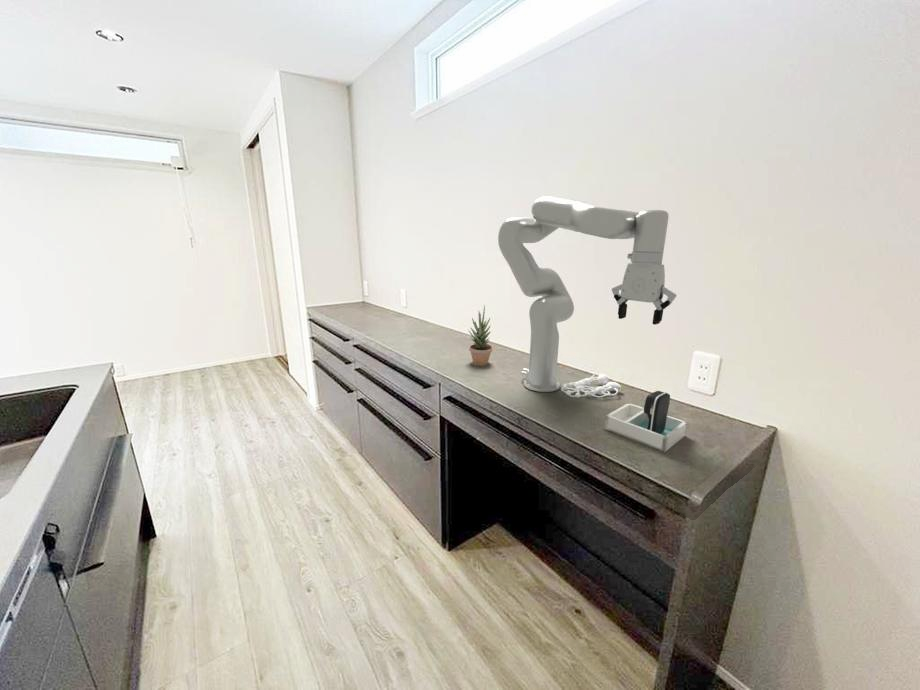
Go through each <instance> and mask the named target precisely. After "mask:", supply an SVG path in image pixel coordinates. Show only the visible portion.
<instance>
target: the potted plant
mask: <svg viewBox="0 0 920 690" xmlns="http://www.w3.org/2000/svg"><path fill="white" fill-rule="evenodd" d="M485 313H486V307H485V304H484V305H483V311H482V314H481V312H480V311H478V325H477V322H476V321H475V320H474V318H473V317H472V318H471V319H472V320H471V321H472V323H473V327H474V329H475V330H474V329H473V328H472V327H470V330H468V332H469V334H470V336H471V337H472V338H471V337H470V339H471V341H472V342H473V344H470V345H469V346H468V347H469V349H468V350H469V352H470V355H471V359H472V363H473V365H475V366H481V367H482V366H486V365H488V364H489V359H490V356H491V353H492V352H493V346H492V345H490V344H489V342H490V340H489V339H490V337H488V336H489V335H491V331H489V330H490V329H491V325H489V323H490V320H491V317H489V319H487V320H486V319H485ZM488 325H489V326H488Z"/></svg>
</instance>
